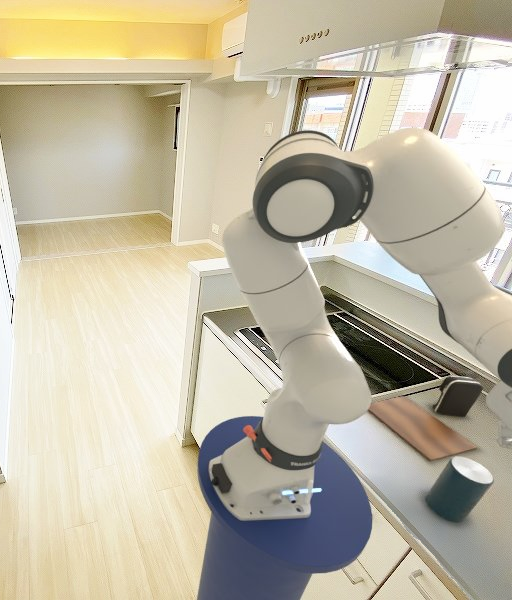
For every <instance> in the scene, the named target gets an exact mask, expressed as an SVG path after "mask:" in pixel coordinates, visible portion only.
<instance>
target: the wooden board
mask: <svg viewBox="0 0 512 600" xmlns="http://www.w3.org/2000/svg"><path fill="white" fill-rule="evenodd" d="M367 412H370V414H372V415H373V416H374V417H375V418H376V419H378V420H379V421H380V422H381V423H382V424H384V425H385V426H386V427H387V428H389V429H390V430H391V431H392V432H394V433H395V434H396V435H397V436H398V437H400V438H401V439H402V440H403V441H404V442H405V443H407V444H408V445H410V446H411V447H412V449H415V450H416V451H417V452H418V453H419V454H420V455H421V456H423V457H424V458H425V459H426V460H428V461H429V462H433V461H437V460H440V459H445V458H448V457H451V456H455V455H459V454H462V453H466V452H470V451H473V450H476V449H478V446H476V445H475V444H473V443H472V442H471V441H469V440H468V439H466V438H465V437H464V436H462V435H461V434H459V433H458V432H456V431H455V430H453V429H452V428H451V427H449V426H448V425H446V424H445V423H444V422H443V421H441V420H439V419H438V418H437V417H436V416H434V415H432V414H431V413H430V412H428V411H426V410H425V409H424V408H423V407H421V406H419V405H418V404H417V403H415V402H414V401H413V400H411V399H409V398H408V397H407V396H405V395H402V396H397V397H393V398H388V399H384V400H379V401H375V402H371V405H370V407H369V409H368V410H367Z"/></svg>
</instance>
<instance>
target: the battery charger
mask: <svg viewBox="0 0 512 600" xmlns="http://www.w3.org/2000/svg"><path fill="white" fill-rule="evenodd" d="M438 389H439V391H440V395H439V398H438V400H437V401H436V402H435V404H432V409H433V410H434V412H435V413H436V414H438V415H444V416H445V415H446V416H452V417H453V416H454V417H462V418H466V416H467V415H468V413H469V412H470V410H471V409H472V407H473V406H474V405H475V403H476V402H477V400H478V399H479V397H480V396H481V394H482V392H483V390H484V387H483V385H482V384H481V382H478V380H476V379H475V378H473V377H468V376H459V375H448V376H446V378H444V379H443V381H442V382H441V384H440V386H439V388H438Z"/></svg>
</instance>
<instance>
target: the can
mask: <svg viewBox="0 0 512 600" xmlns="http://www.w3.org/2000/svg"><path fill="white" fill-rule="evenodd" d="M494 483H495V479H494V477H493V475H492V473H491V472H490V471H489V470H488V469H487V468H486V467H485V466H483V465H482V464H480V463H479V462H478V461H475V460H473V459H471V458H467V457H464V456H453V457H450V459H449V461H448V462H447V464H446V465H445V466H444V468H443V469H442V471H441V472H440V474H439V475H438V477H437V479H436V480H435V482H434V483H433V484H432V486H431V488H430V489H429V490H428V492H427V493H426V495H425V502H426V504H427V506H428V507H429V509H431V511H432V512H434V513H435V514H436V515H437V516H439V517H440V518H441V519H444V520H446V521H448V522H452V523H456V524H457V523H458V524H459V523H463V522H464V521H465V520H466V519H467V517H468V516H469V515H470V514H471V512H472V511H473V510H474V508H475V507H476V506H477V505H478V503H479V502H480V501H481V499H483V497H484V496H485V495H486V493H487V492H488V491H489V489H490V488H491V487H492V486H493V484H494Z"/></svg>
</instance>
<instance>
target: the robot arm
mask: <svg viewBox="0 0 512 600" xmlns="http://www.w3.org/2000/svg"><path fill="white" fill-rule="evenodd" d="M354 217H355V218H354ZM358 221H360V222H361V224H362V225H364V227H365V228H366V229H367V230H368V232H369V234H371V236H372V238H373V239H374V240H375V241H376V242H377V243H378V244H379V246H380V247H381V248H382V249H383V250H384V251H385V252H386V253H387V254H388V255H389V256H390V257H391V259H393V260H394V261H395V262H396V263H398V264H399V265H400V266H402V267H403V268H404V269H406V270H407V271H409V272H410V273H412V274H415V275H417V276H419V277H420V278H421V279H422V281H423V283H424V284H425V285H426V286H427V288H428V289H429V290H430V292H431V293H432V294H433V296H434V298H435V300H436V303H437V309H438V311H437V312H438V322H439V326H440V328H441V330H442V331H443V333H444V334H446V335H447V336H448V337H449V338H450V339H452V340H453V341H454V342H456V344H459V345H460V346H461V347H462V348H464V350H466V351H467V352H468V353H469V354H470V355H471V356H472V357H474V358H475V360H477V361H478V362H479V363H480V364H481V365H483V366H484V368H486V369H487V370H488V371H489V372H490V373H491V374H492V375H493V376H494V377H496V379H498V380H499V381H498V382H497V383H495V384H494V386H493V387H492V388H491V389H490V390H489V392H488V393H487V394H486V396H485V405H486V407H488V408H489V409H490V410H491V412H493V414H495V415H496V416H497V417H498V418H499V419H498V420H497V430H498V434H497V436H496V437H495V439H494V441H495V442H496V443H497V444H498V445H499V446H500V447H501V448H502V449H507V450H512V292H511V291H509V289H508V290H507V289H506V288H504V287H500V286H497V285H495V284H493V283H491V282H490V280H489V278H487V276H486V274H485V273H484V271H483V270H482V268H481V266H480V265H479V263H478V261H479V260H481V259H482V258H484V257H486V255H488V254H490V252H491V251H492V250H493V249H494V248H496V247H497V245H498V244H499V243H500V241H501V239H502V238H503V236H504V234H505V231H506V226H505V222H504V221H505V220H504V218H503V215H502V212H501V209H500V207H499V205H498V202H497V201H496V199H495V197H494V196H493V194H492V193H491V192H490V190H489V189H488V187H487V186H486V185H485V183H484V182H483V180H482V179H481V178H480V176H479V175H478V174H477V173H476V171H475V170H474V169H473V168H472V167H471V166H470V164H469V163H468V162H467V161H466V160H465V159H464V158H463V157H462V156H461V155H460V154H459V153H458V152H457V151H456V150H455V149H453V147H451V146H450V145H449V144H448V143H447V142H445V141H444V140H443V139H441V138H440V137H439V136H437V135H436V134H435V133H433V132H432V131H431V130H429V129H425V128H422V127H406V128H401V129H397V130H394V131H391V132H388V133H386V134H383V135H382V136H380V137H378V138H376V139H374V140H373V141H371V142H370V143H368V144H367V145H365V147H361V148H359V149H356V150H346V151H344V150H342V149H341V148H339V145H338V144H337V142H336V141H335V140H334V139H333V138H332V137H330V136H329V135H328V134H326V133H324V132H321V131H319V130H311V129H307V130H306V129H305V130H299V131H295V132H291V133H289V134H287V135H285V136H283V137H282V138H280V139H278V140H277V141H276V142H275V143H274V144H273V145H271V147H270V149H268V151H267V152H266V154H265V155H264V158H263V160H262V162H261V164H260V166H259V169H258V171H257V173H256V177H255V182H254V190H253V195H252V208H250V209H249V210H247V211H245V212H242V213H241V214H239V215H238V216H236V217H235V218H234V219H233V220H231V221H230V223H229V224H227V226H225V227H226V228H225V229H224V231H223V233H222V238H221V240H222V241H221V242H222V247H223V251H224V254H225V255H224V256H225V258H226V261H227V264H228V267H229V270H230V272H231V274H232V277H233V279H234V281H235V283H236V285H237V287H238V289H239V291H240V293H241V295H242V297H243V298H244V301H245V303H246V305H247V307H248V309H249V310H250V313H251V314H252V316H253V318H254V320H255V322H256V324H257V325H258V327H259V328H260V330H261V331H262V333H263V334H264V336H265V338H266V340H267V341H268V343H269V345H270V347H271V349H272V351H273V353H274V356H275V358H276V360H277V363H278V365H279V367H280V370H281V376H282V385H281V387H279V388H277V389H274V390H273V391H271V392H270V394H269V395H268V397H267V400H266V405H265V410H264V413H263V416H262V417H263V418H262V420H261V421H260V422H259V424H258V425H257V427H256V428H255V430H253V428H252V426H250V425H247V426H245V427H244V429H243V431H244V432H245V433H246V434H247V437H245V438H244V439H242V440H241V441H239V442H238V443H236V444H234V445H233V446H231V447H230V448H228V449H227V450H226V451H225V452H224V453H223V455H220V456H218V457H216V458H214V459H212V460H211V461H210V462H209V468H208V469H209V476H210V479H211V482H212V485H213V487H214V489H215V491H216V493H217V495H218V496H219V498H220V500H221V501H222V503H223V504H224V506H225V507H226V508H227V509H228V510H229V512H230V513H231V514H232V515H234V516H235V517H236V518H237V519H239V520H241V521H251V520H273V519H295V518H308V517H309V516H310V513H311V506H310V500H311V498H312V495H313V492H321V488H317V489H313V482H314V468H315V464H316V463H317V461H318V459H319V458H320V455H321V450H322V441H323V440H324V437H325V435H326V432H327V430H328V428H329V426H330V425H345V424H349V423H352V422H354V421H357V420H359V419H360V418H362V416H364V415H365V414H366V413H367V412H368V409H369V407H370V405H371V403H373V402H372V401H373V396H372V393H371V390H370V387H369V384H368V382H367V379H366V377H365V375H364V372H363V370H362V368H361V367H360V365H359V364H358V363H357V361H356V360H355V359H354V358H353V356H352V354H351V353H350V352H349V351H348V350H347V348H346V347H345V345H344V344H343V343H342V341H341V340H340V339H339V337H338V335H337V334H336V333H335V331H334V329H333V327H332V326H331V324H330V322H329V319H328V317H327V313H326V309H325V306H326V305H325V304H326V300H325V297H324V295H323V292H322V291H321V288H320V286H319V284H318V283H319V282H318V281H317V279H316V276H315V274H314V272H313V270H312V269H313V268H311V265H310V261H309V260H308V258H307V255H306V254H305V251H304V249H303V247H302V244H301V243H306V242H310V241H314V240H317V239H320V238H322V237H324V236H326V235H328V234H330V233H332V232H334V231H336V230H340V229H342V228H346V227H349V226H353V225H354V224H356V223H357V222H358ZM230 505H232V506H233V507H231V506H230ZM297 510H299V511H300V512H298V511H297Z"/></svg>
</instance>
